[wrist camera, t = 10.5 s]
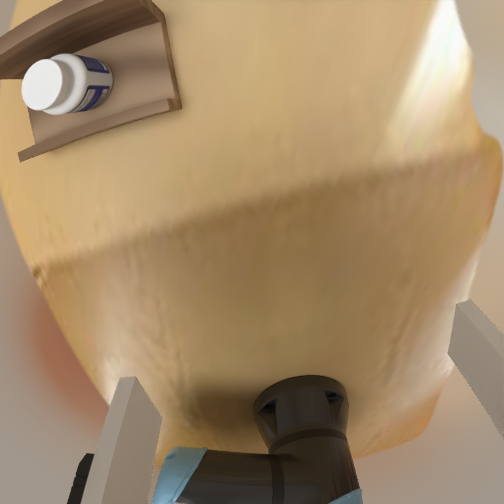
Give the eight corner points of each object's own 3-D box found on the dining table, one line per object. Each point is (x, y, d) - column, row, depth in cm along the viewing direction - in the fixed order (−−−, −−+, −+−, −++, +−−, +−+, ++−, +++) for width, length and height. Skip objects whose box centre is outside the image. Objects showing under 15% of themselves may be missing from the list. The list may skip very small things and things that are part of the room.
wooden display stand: (181, 108, 29) (149, 111, 18) (49, 151, 30) (-18, 178, 19) (163, 14, 25) (125, -27, 14) (33, 66, 25) (-38, 65, 15)
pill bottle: (65, 66, 24) (13, 62, 16) (112, 53, 24) (68, 40, 16) (69, 115, 26) (18, 126, 18) (116, 105, 26) (72, 109, 18)
